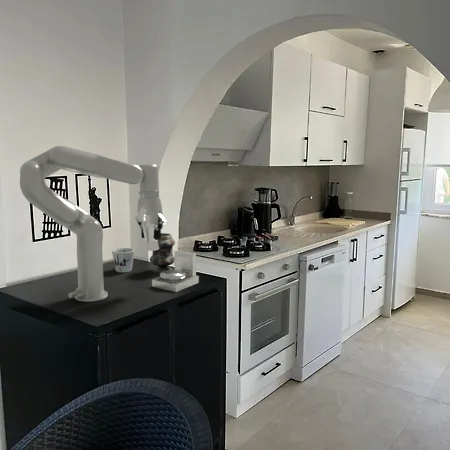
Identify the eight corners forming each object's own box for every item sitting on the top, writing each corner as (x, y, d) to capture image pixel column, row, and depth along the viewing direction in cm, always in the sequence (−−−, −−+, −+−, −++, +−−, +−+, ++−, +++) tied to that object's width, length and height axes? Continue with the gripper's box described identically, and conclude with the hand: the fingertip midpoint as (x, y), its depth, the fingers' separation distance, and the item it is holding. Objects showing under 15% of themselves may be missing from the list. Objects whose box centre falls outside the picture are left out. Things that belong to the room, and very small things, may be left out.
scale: (176, 291, 190) (176, 261, 187) (152, 286, 196) (151, 256, 194) (198, 282, 203) (198, 253, 201) (175, 277, 210) (175, 250, 208)
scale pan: (174, 281, 190) (174, 278, 190) (154, 276, 196) (154, 274, 195) (192, 274, 200) (192, 271, 200) (172, 270, 206) (172, 267, 206)
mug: (109, 273, 216) (109, 252, 215) (118, 265, 231) (117, 245, 229) (132, 273, 216) (131, 252, 214) (139, 265, 231) (138, 246, 229)
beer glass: (148, 251, 185) (147, 215, 182) (140, 248, 190) (138, 213, 187) (163, 249, 189) (162, 213, 186) (154, 246, 194) (153, 211, 192)
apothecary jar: (180, 269, 224) (179, 233, 221) (165, 275, 213) (165, 237, 210) (159, 266, 229) (159, 231, 226) (144, 272, 219) (144, 235, 216)
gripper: (127, 194, 187) (129, 237, 190) (160, 197, 178) (161, 242, 181) (140, 192, 193) (141, 234, 196) (172, 195, 184) (173, 239, 187)
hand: (151, 238), depth 189 cm, fingers closed on beer glass, 6 cm apart
